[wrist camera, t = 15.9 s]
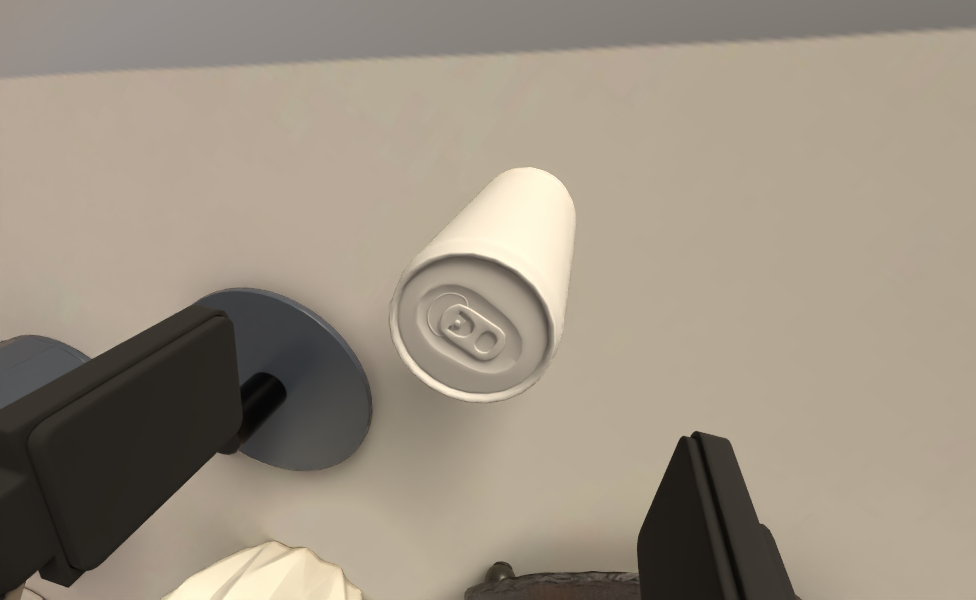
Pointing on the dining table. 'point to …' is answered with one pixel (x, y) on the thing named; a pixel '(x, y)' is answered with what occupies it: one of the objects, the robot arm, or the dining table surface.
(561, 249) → the beverage can
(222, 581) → the vase
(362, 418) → the lid
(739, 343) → the dining table surface
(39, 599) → the mug
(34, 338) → the pot
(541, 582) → the serving tray
